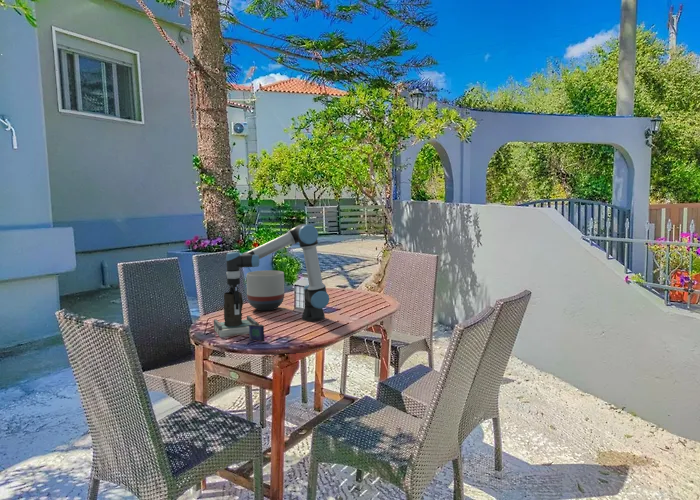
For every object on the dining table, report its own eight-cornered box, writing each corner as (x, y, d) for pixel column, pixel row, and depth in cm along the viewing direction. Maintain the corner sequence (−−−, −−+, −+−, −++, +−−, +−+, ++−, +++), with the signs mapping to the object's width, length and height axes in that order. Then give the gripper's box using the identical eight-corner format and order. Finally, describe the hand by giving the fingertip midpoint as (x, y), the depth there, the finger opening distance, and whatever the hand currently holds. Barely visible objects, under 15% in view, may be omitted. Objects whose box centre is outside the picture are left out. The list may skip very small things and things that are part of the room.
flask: (248, 340, 276) (248, 321, 275) (251, 338, 279) (250, 320, 278) (263, 341, 274) (262, 323, 273) (265, 340, 276) (265, 321, 275)
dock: (257, 332, 292) (256, 322, 291) (220, 337, 282) (219, 326, 281) (249, 325, 310) (248, 315, 309) (213, 329, 300) (213, 319, 299)
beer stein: (237, 327, 288) (237, 293, 287) (220, 326, 290) (220, 293, 289) (247, 322, 303) (247, 290, 302) (231, 321, 305) (231, 290, 304)
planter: (274, 315, 336) (273, 276, 333) (240, 312, 345) (239, 275, 342) (290, 306, 361) (290, 271, 359) (259, 304, 370) (258, 269, 367)
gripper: (223, 275, 302) (224, 308, 304) (231, 281, 280) (232, 317, 282) (235, 274, 305) (236, 307, 307) (244, 280, 283) (245, 315, 285)
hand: (234, 312), depth 295 cm, fingers open, 13 cm apart
